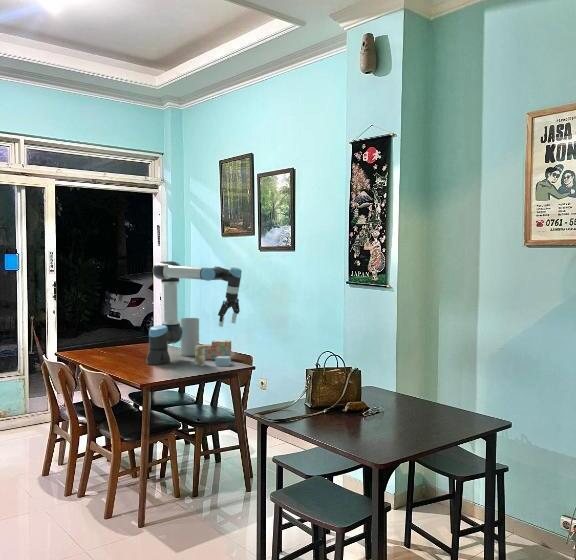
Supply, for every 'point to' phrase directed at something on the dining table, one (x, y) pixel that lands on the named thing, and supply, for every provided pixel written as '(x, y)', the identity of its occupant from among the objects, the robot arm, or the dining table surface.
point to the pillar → (200, 355)
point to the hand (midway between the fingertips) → (227, 324)
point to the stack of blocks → (217, 349)
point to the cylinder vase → (189, 336)
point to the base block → (223, 360)
